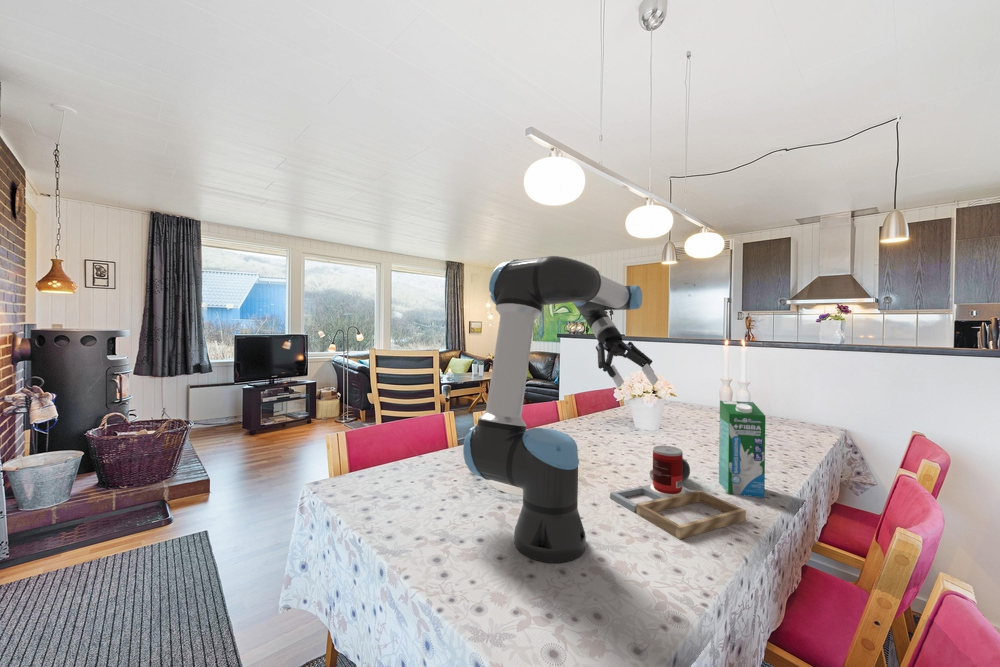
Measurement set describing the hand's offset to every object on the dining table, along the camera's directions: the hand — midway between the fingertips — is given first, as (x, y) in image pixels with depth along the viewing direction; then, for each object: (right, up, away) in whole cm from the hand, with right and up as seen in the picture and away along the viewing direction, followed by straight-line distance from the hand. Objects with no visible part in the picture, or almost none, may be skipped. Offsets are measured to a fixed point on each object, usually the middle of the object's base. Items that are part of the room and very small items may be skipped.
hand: (638, 383), depth 120 cm
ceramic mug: (+10, -30, +2) cm, 32 cm away
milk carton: (+28, -30, -6) cm, 41 cm away
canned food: (+4, -28, -10) cm, 30 cm away
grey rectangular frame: (0, -30, -12) cm, 32 cm away
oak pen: (+5, -30, -23) cm, 38 cm away
